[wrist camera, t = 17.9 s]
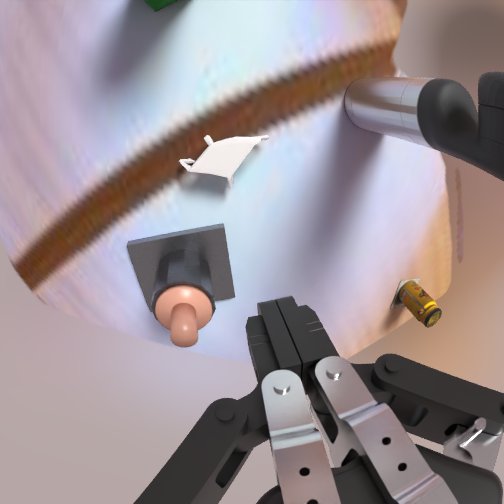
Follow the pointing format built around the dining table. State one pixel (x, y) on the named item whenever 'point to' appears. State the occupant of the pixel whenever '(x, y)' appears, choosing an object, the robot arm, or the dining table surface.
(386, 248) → the dining table surface
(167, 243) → the flanged pipe socket
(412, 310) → the condiment
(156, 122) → the dining table surface
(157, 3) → the milk carton
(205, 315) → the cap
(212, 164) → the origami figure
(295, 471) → the robot arm
